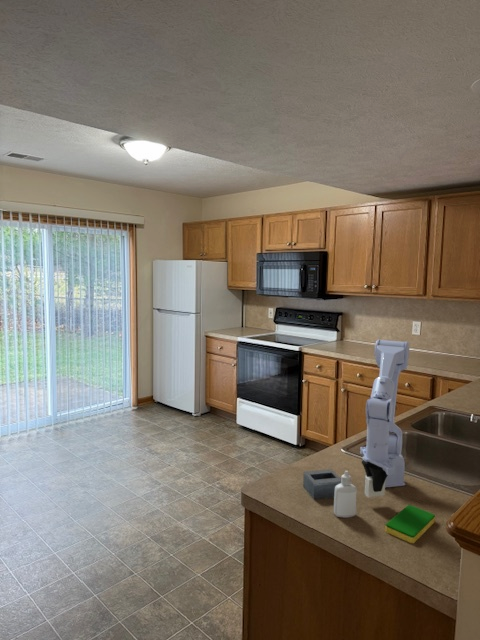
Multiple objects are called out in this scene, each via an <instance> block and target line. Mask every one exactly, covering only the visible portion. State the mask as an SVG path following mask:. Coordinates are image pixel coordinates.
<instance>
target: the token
mask: <svg viewBox="0 0 480 640" xmlns="http://www.w3.org/2000/svg"><path fill="white" fill-rule="evenodd" d="M364 477H365V476H364ZM385 492H386V487H385V482H384V485H383V487H382V490H381V491H379V492H374V490H373V480H372V476H370V477H365V482H364V495H365V496H366V497H367V498H368V499H369V498H377V497H385V495H386V493H385Z"/></svg>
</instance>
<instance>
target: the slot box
mask: <svg viewBox="0 0 480 640" xmlns="http://www.w3.org/2000/svg"><path fill="white" fill-rule="evenodd" d="M340 483H341V477H340V476H339V475H338V474H337V473H336V472H335V471H334V470H333V469H331V468H329V469H327V468H326V469H320V470H319V469H318V470H306V471H303V481H302V486H303V488H304V489H305V491H306V492H307V493H308V495H310V497H311V498H312V500H320V499H329V498H334V492H335V486H336V485H338V484H340Z"/></svg>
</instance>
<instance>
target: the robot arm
mask: <svg viewBox="0 0 480 640" xmlns="http://www.w3.org/2000/svg"><path fill="white" fill-rule="evenodd" d="M374 357H375V363H376V366H377V367H378V368H379V372H378V373H379V375H378V377H376V378H375V379H374V380H373V384H372V389H371V394H370V398H368V399H367V400H366V403H365V418H366V419H365V420H366V423H365V424H366V425H367V426H366V446H360V448H359V454H360V455H363V456H362V460H361V464H362V466H363V468H364V471H365V474H366V475H364V477H370V476H372V480H373V490H374V492H379V491H381V490H382V487H383V485H384V482H385V488H392V487H393V488H394V487H403V486H406V483H405V469H406V468H405V465H406V464H405V459H404V456H403V455H402V450H403V449H402V448H403V431H402V428H401V427H399V426H398V425H397V424H396V422H395V418H396V417H395V416H396V405H397V395H398V384H399V376H400V374H401V372H403V371H406V370H407V367H408V365H409V357H410V343H409V341H397V340H385V339H380V338H378V339H377V340H376V341H375V344H374Z"/></svg>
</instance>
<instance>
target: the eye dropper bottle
mask: <svg viewBox="0 0 480 640" xmlns="http://www.w3.org/2000/svg"><path fill="white" fill-rule="evenodd" d="M340 478H341V483H340V484H338V485H336V486H335V492H334V497H333V514H334V515H335V516H336V517H337V518H352V517H355V516H356V514H357V513H356V512H357V496H358V495H357V494H358V493H357V492H358V491H357V489H358V488H357V487H356V486H355V485H354V484H352V476H351V475H349V470H345V471H344V474H342V475H341V477H340Z"/></svg>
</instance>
